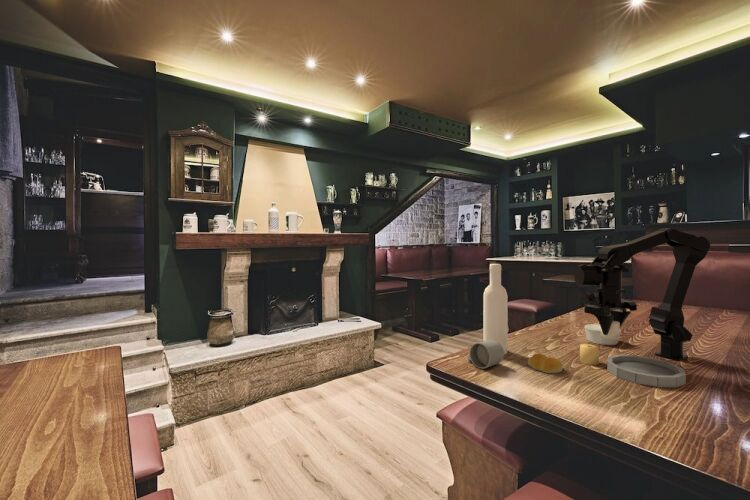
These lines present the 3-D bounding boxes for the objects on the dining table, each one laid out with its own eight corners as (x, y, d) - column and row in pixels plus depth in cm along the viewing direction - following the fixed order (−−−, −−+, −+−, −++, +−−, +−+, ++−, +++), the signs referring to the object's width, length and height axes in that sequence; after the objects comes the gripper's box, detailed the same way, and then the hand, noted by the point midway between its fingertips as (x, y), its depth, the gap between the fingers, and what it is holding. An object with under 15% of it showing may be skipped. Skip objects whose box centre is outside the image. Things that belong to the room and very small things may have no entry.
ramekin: (628, 346, 123) (628, 331, 123) (596, 346, 123) (596, 331, 123) (607, 337, 134) (607, 323, 134) (578, 337, 134) (578, 324, 134)
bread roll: (556, 376, 98) (556, 362, 97) (524, 368, 104) (524, 354, 104) (567, 369, 103) (567, 355, 103) (537, 361, 110) (537, 348, 110)
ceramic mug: (506, 365, 106) (505, 340, 106) (490, 372, 101) (489, 345, 101) (477, 357, 114) (476, 333, 114) (461, 362, 109) (460, 338, 109)
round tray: (628, 359, 110) (628, 351, 109) (697, 379, 94) (697, 369, 94) (594, 369, 102) (594, 360, 102) (663, 392, 87) (663, 382, 86)
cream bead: (606, 334, 116) (607, 319, 116) (623, 337, 111) (623, 322, 111) (597, 336, 114) (597, 320, 114) (613, 340, 109) (614, 324, 109)
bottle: (500, 357, 113) (500, 265, 112) (478, 351, 119) (478, 264, 118) (512, 351, 119) (512, 264, 118) (491, 346, 125) (491, 262, 124)
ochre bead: (586, 358, 111) (586, 343, 111) (602, 363, 107) (602, 347, 107) (576, 361, 109) (576, 345, 109) (592, 366, 105) (592, 349, 104)
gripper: (602, 281, 123) (602, 324, 124) (568, 284, 115) (568, 331, 116) (638, 284, 113) (637, 332, 114) (603, 289, 105) (602, 340, 106)
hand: (610, 333), depth 113 cm, fingers closed on cream bead, 5 cm apart
